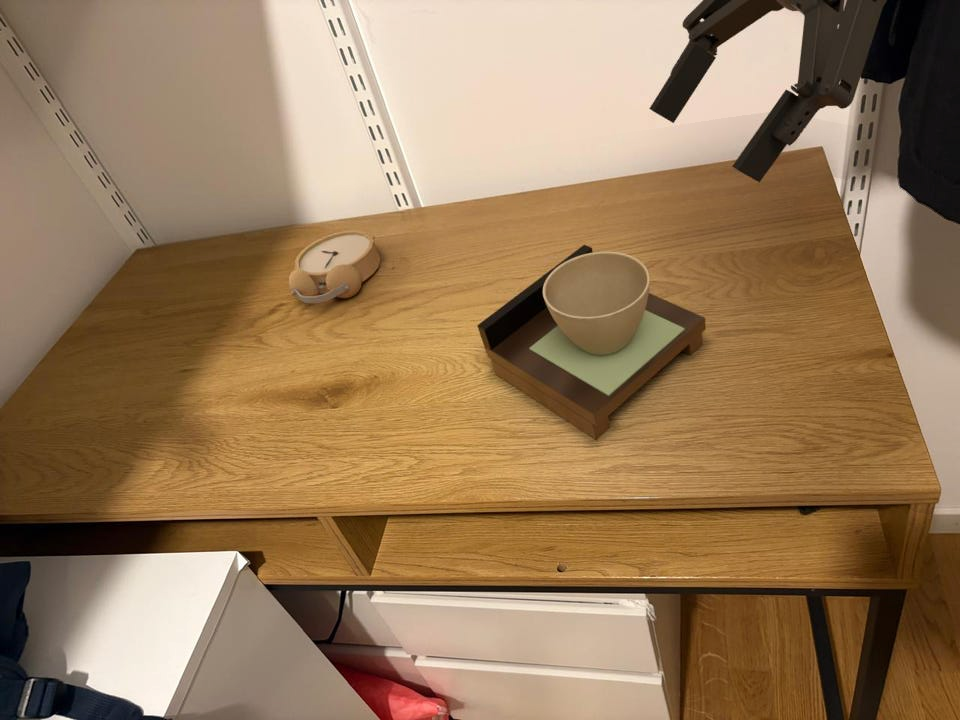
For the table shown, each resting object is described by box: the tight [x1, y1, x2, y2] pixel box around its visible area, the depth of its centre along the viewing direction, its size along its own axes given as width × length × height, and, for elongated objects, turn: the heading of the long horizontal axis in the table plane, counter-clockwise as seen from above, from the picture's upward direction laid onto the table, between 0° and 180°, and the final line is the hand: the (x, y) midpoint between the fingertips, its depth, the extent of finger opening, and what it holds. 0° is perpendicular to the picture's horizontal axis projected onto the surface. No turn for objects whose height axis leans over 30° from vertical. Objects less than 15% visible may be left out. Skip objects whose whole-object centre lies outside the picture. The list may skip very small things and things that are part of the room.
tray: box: [476, 244, 707, 440], centre depth 76 cm, size 16×16×7 cm
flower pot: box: [543, 251, 651, 355], centre depth 72 cm, size 10×10×7 cm
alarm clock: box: [288, 229, 381, 304], centre depth 101 cm, size 11×5×15 cm
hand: (699, 143), depth 64 cm, fingers open, 13 cm apart
